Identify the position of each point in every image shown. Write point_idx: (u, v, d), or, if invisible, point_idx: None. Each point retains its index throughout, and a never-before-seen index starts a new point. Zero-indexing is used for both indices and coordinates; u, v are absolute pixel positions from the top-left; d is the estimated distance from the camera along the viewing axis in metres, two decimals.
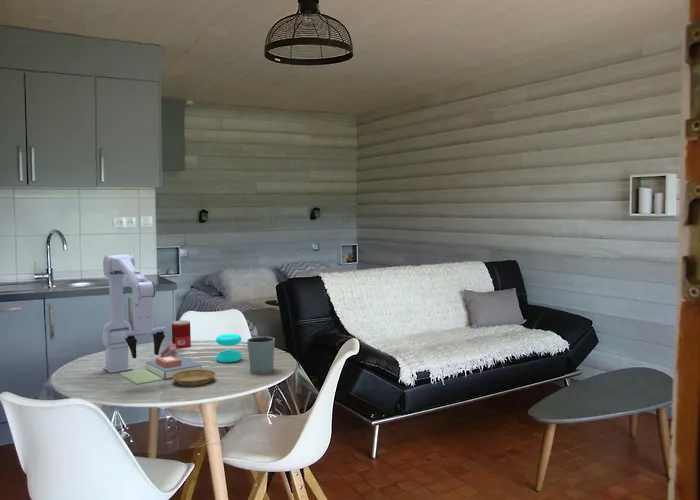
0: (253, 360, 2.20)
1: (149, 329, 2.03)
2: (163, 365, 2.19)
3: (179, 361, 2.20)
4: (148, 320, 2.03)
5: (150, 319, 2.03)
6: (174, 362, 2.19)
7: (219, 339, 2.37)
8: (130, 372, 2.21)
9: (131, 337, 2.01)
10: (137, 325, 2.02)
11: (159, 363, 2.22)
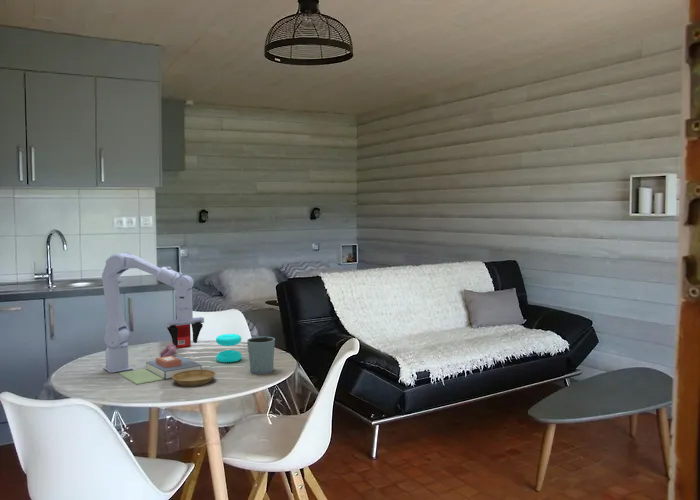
0: (253, 360, 2.20)
1: (189, 319, 2.23)
2: (163, 365, 2.19)
3: (179, 361, 2.20)
4: (188, 311, 2.22)
5: (190, 310, 2.23)
6: (174, 362, 2.19)
7: (219, 339, 2.37)
8: (130, 372, 2.21)
9: (173, 326, 2.21)
10: (178, 315, 2.22)
11: (159, 363, 2.22)
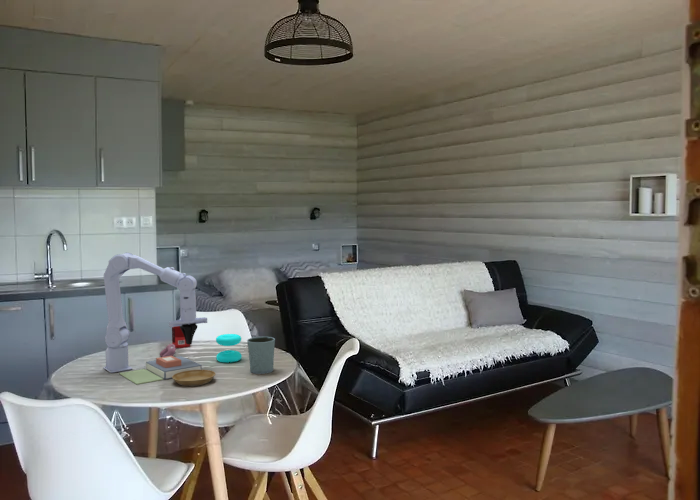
0: (253, 360, 2.20)
1: (192, 319, 2.25)
2: (163, 365, 2.19)
3: (179, 361, 2.20)
4: (192, 311, 2.25)
5: (193, 310, 2.25)
6: (174, 362, 2.19)
7: (219, 339, 2.37)
8: (130, 372, 2.21)
9: None
10: (182, 316, 2.24)
11: (159, 363, 2.22)
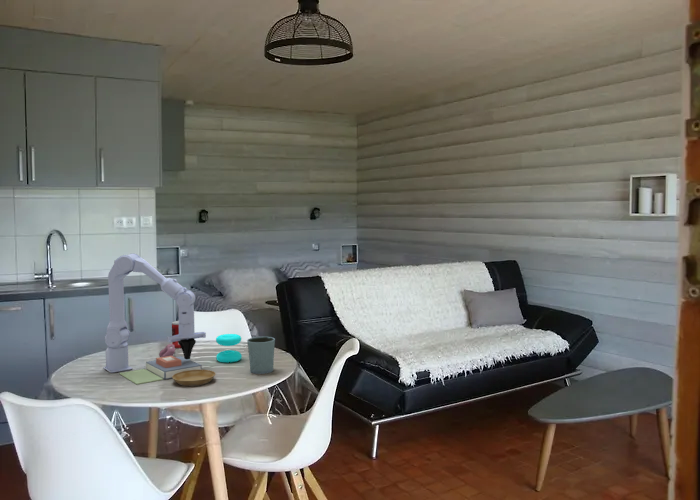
0: (253, 360, 2.20)
1: (191, 334, 2.25)
2: (163, 365, 2.19)
3: (179, 361, 2.20)
4: (190, 326, 2.24)
5: (192, 325, 2.25)
6: (174, 362, 2.19)
7: (219, 339, 2.37)
8: (130, 372, 2.21)
9: None
10: (180, 331, 2.24)
11: (159, 363, 2.22)
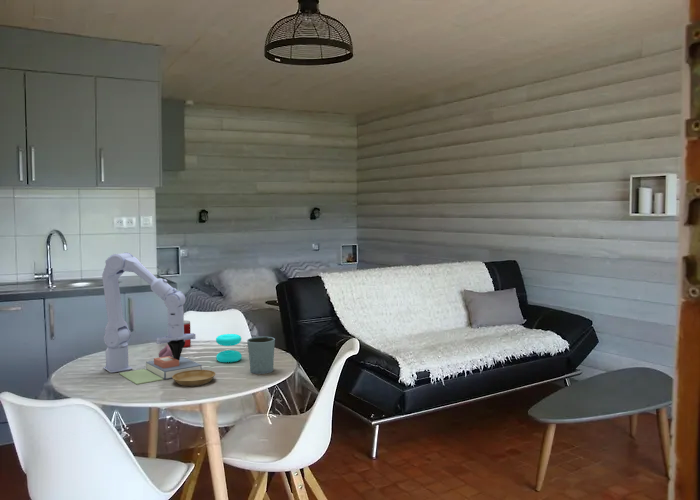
0: (253, 360, 2.20)
1: (180, 336, 2.22)
2: (161, 365, 2.18)
3: (177, 361, 2.20)
4: (179, 327, 2.22)
5: (181, 326, 2.22)
6: (172, 362, 2.19)
7: (219, 339, 2.37)
8: (130, 372, 2.21)
9: None
10: (169, 332, 2.22)
11: (157, 363, 2.21)
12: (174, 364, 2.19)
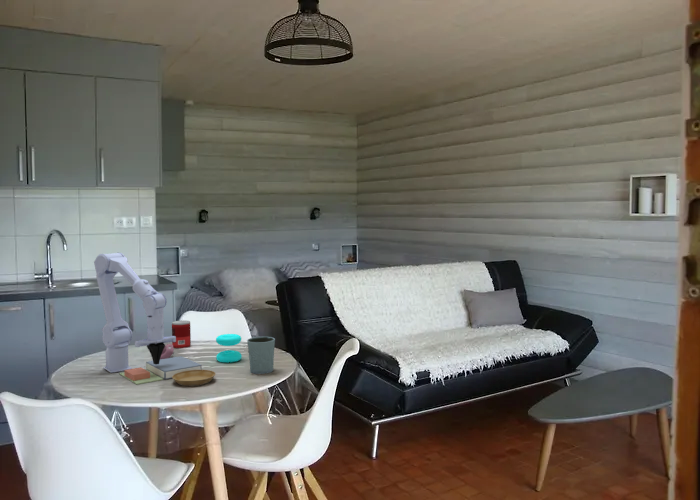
0: (253, 360, 2.20)
1: (160, 338, 2.17)
2: None
3: (135, 379, 2.10)
4: (159, 330, 2.17)
5: (161, 329, 2.17)
6: (140, 378, 2.12)
7: (219, 339, 2.37)
8: None
9: None
10: (148, 335, 2.17)
11: None
12: (138, 376, 2.11)
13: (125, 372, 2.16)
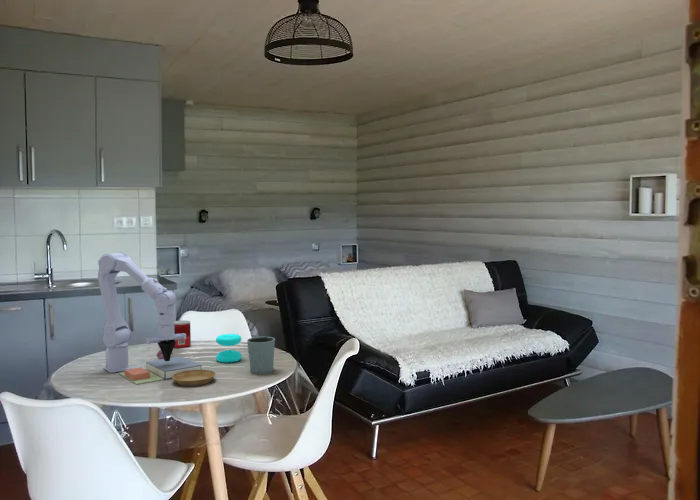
0: (253, 360, 2.20)
1: (170, 336, 2.20)
2: None
3: (135, 379, 2.10)
4: (170, 327, 2.19)
5: (171, 326, 2.20)
6: (140, 378, 2.12)
7: (219, 339, 2.37)
8: None
9: None
10: (159, 332, 2.19)
11: None
12: (138, 376, 2.11)
13: (125, 372, 2.16)
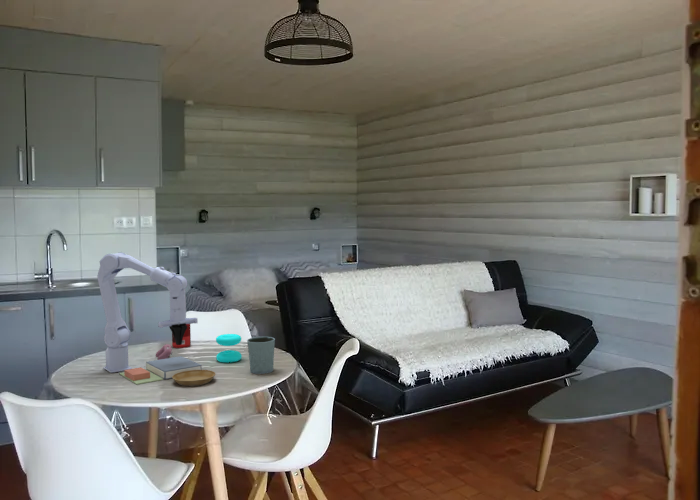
0: (253, 360, 2.20)
1: (182, 319, 2.22)
2: None
3: (135, 379, 2.10)
4: (181, 311, 2.22)
5: (183, 310, 2.23)
6: (140, 378, 2.12)
7: (219, 339, 2.37)
8: None
9: None
10: (171, 316, 2.22)
11: None
12: (138, 376, 2.11)
13: (125, 372, 2.16)
